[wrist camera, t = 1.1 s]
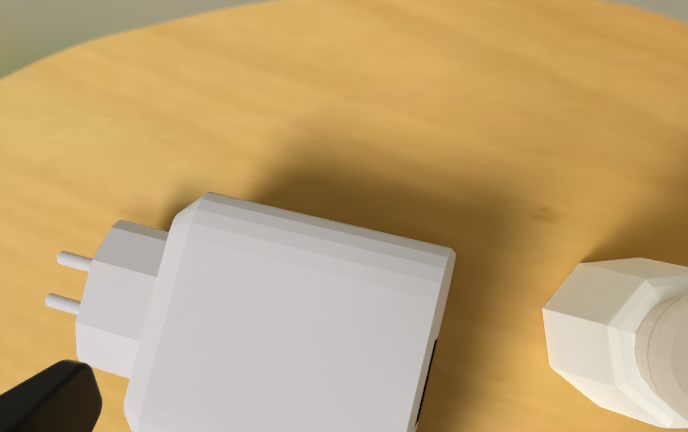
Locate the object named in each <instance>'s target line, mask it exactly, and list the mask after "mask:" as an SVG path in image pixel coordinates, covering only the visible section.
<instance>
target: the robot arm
mask: <svg viewBox="0 0 688 432" xmlns="http://www.w3.org/2000/svg"><path fill="white" fill-rule="evenodd" d="M101 409H102V397H101V394H100V391H99V388H98V385H97V382H96V379H95V376H94V373H93V370H92V368H91V366H90V365H88V364H87V363H84V362H78V361H73V360H62V361H59V362H57V363H55V364H54V365H52V366H50V367H48V368H47V369H45V370H43V371H41V372H40V373H38V374H36V375H34V376H33V377H31V378H29V379H27V380H26V381H24V382H22V383H20V384H19V385H17V386H15V387H14V388H12V389H10V390H8V391H7V392H5V393H3V394H1V395H0V432H92V431H93V429H94V427H95V424H96V422H97V420H98V418H99V416H100V413H101Z"/></svg>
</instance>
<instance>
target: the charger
mask: <svg viewBox="0 0 688 432" xmlns="http://www.w3.org/2000/svg"><path fill="white" fill-rule="evenodd" d="M455 260H456V253H455V252H454V251H453V249H452V248H449V247H445V246H440V245H436V244H432V243H427V242H423V241H419V240H414V239H410V238H406V237H401V236H397V235H393V234H389V233H384V232H380V231H376V230H371V229H367V228H363V227H358V226H354V225H350V224H346V223H341V222H337V221H333V220H328V219H324V218H320V217H315V216H311V215H307V214H302V213H298V212H294V211H290V210H285V209H281V208H277V207H272V206H268V205H264V204H259V203H255V202H251V201H247V200H242V199H238V198H234V197H229V196H225V195H221V194H216V193H212V192H209V193H206V194H205V195H203V196H202V197H200V198H199V199H197V200H196V201H195V202H193V203H192V204H190V205H189V206H188V207H186V208H185V209H183V210H182V211H180V212H179V213H178V214H177V215H176V216H175V218H174V220H173V222H172V225H171V228H170V231H169V232H167V231H163V230H159V229H155V228H151V227H147V226H143V225H139V224H135V223H131V222H127V221H123V220H119V221H118V222H117V223H116V224H115V225H114V226H112V227H111V229H110V231H109V233H108V234H107V236H106V238H105V239H104V241H103V243H102V244H101V246H100V248H99V249H98V251H97V253H96V254H95V256H94V258H93V259H91V258H88V257H84V256H80V255H77V254H73V253H69V252H66V251H61V252H60V253H59V254H58V255H57V261H58V263H59V264H62V265H66V266H70V267H73V268H77V269H80V270H84V271H87V272H89V274H88V278H87V281H86V285H85V289H84V292H83V296H82V300H81V302H80V301H77V300H74V299H70V298H67V297H63V296H60V295H56V294H53V293H50V294H49V295H47V297H46V298H45V303H46V305H47V306H49V307H52V308H55V309H59V310H62V311H66V312H69V313H72V314H76V315H77V318H76V322H75V324H76V349H77V357H78V359H79V361H80V362H84V363H87V364H88V365H90V366H91V367H94V368H97V369H100V370H104V371H107V372H110V373H113V374H116V375H119V376H122V377H126V378H129V379H130V381H129V385H128V388H127V392H126V397H125V401H124V414H125V416H126V419H127V421H128V424H129V426H130V428H131V431H132V432H416V430H417V425H418V423H417V424H416V426H415V423H416V419H417V414H418V410H419V406H420V402H421V397H422V393H423V389H424V385H425V380H426V376H427V372H428V368H429V363H430V359H431V355H432V350H433V346H434V342H435V340H436V339H437V338H438V336H439V331H440V327H441V323H442V319H443V314H444V310H445V306H446V301H447V297H448V293H449V288H450V284H451V279H452V275H453V270H454V265H455ZM437 340H438V339H437ZM436 344H437V343H436ZM435 349H436V348H435ZM434 353H435V352H434ZM433 357H434V356H433ZM431 366H432V365H431ZM430 370H431V369H430ZM429 374H430V373H429ZM427 383H428V382H427ZM426 387H427V386H426ZM425 391H426V390H425ZM424 396H425V395H424ZM423 400H424V399H423ZM422 404H423V403H422ZM420 413H421V412H420ZM419 417H420V416H419ZM418 421H419V420H418ZM414 427H415V428H414Z"/></svg>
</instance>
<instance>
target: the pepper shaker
mask: <svg viewBox="0 0 688 432" xmlns="http://www.w3.org/2000/svg"><path fill="white" fill-rule="evenodd" d="M542 311H543V319H544V327H545V334H546V342H547V349H548V357H549V364H550V367H551V368H552V369H553V370H555V371H556V372H557V373H558V374H560V375H561V376H562V377H563V378H565V379H566V380H567V381H568V382H569V383H571V384H572V385H573V386H574V387H576V388H577V389H578V390H579V391H581V392H582V393H583V394H584V395H586V396H587V397H588V398H589V399H590V400H592V401H593V402H594V403H595V404H597V405H598V406H599V407H602V408H605V409H608V410H611V411H614V412H617V413H620V414H623V415H626V416H629V417H631V418H634V419H637V420H640V421H643V422H646V423H649V424H652V425H655V426H658V427H663V428H688V267H686V266H681V265H676V264H671V263H666V262H661V261H656V260H651V259H646V258H641V257H638V258H628V259H618V260H608V261H598V262H588V263H579V264H578V265H577V266H576V267H575V269H574V270H573V271H572V272H571V273H570V275H569V276H568V277H567V278H566V280H565V281H564V282H563V283H562V284H561V286H560V287H559V288H558V289H557V290H556V292H555V293H554V294H553V295H552V297H551V298H550V299H549V300H548V301H547V303H546V304H545V305H544V306H543V308H542Z"/></svg>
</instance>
